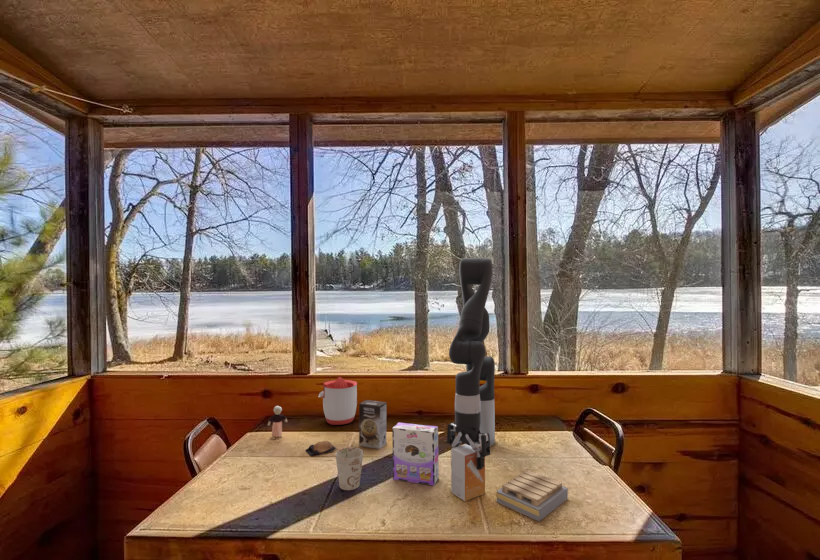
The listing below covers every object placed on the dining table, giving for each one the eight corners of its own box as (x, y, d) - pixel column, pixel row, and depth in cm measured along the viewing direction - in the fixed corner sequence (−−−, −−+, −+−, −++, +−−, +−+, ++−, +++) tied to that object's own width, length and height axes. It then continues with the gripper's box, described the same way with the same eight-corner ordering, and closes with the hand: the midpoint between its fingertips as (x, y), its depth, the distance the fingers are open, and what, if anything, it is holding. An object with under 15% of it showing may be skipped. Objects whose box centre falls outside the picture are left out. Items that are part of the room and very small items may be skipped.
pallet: (501, 491, 112) (501, 485, 112) (527, 474, 122) (527, 469, 122) (537, 506, 104) (537, 500, 104) (562, 487, 114) (562, 482, 114)
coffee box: (358, 446, 152) (358, 403, 152) (366, 440, 158) (366, 399, 158) (379, 449, 149) (379, 406, 149) (387, 443, 155) (387, 401, 155)
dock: (495, 501, 112) (495, 491, 112) (526, 482, 123) (526, 472, 123) (538, 521, 103) (538, 510, 103) (567, 498, 114) (567, 488, 114)
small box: (465, 502, 112) (464, 455, 112) (450, 492, 117) (450, 448, 118) (486, 493, 117) (485, 449, 117) (471, 484, 122) (470, 442, 122)
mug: (340, 495, 116) (340, 460, 117) (328, 477, 127) (328, 445, 128) (367, 488, 120) (367, 454, 120) (353, 471, 131) (353, 440, 132)
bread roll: (329, 444, 155) (329, 435, 155) (339, 451, 149) (339, 441, 149) (303, 451, 149) (303, 441, 149) (312, 459, 142) (312, 448, 142)
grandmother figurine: (270, 440, 158) (270, 408, 158) (266, 438, 161) (266, 406, 161) (288, 436, 163) (288, 404, 163) (285, 433, 166) (285, 402, 166)
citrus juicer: (318, 417, 186) (318, 374, 186) (355, 414, 190) (355, 372, 190) (318, 429, 170) (318, 382, 171) (359, 425, 175) (359, 379, 175)
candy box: (439, 477, 127) (438, 425, 127) (434, 486, 121) (433, 432, 121) (398, 471, 131) (398, 421, 131) (392, 479, 125) (391, 427, 126)
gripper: (441, 406, 120) (441, 460, 119) (479, 416, 110) (480, 476, 109) (457, 401, 125) (457, 453, 125) (495, 411, 115) (496, 468, 114)
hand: (468, 464), depth 117 cm, fingers open, 8 cm apart
